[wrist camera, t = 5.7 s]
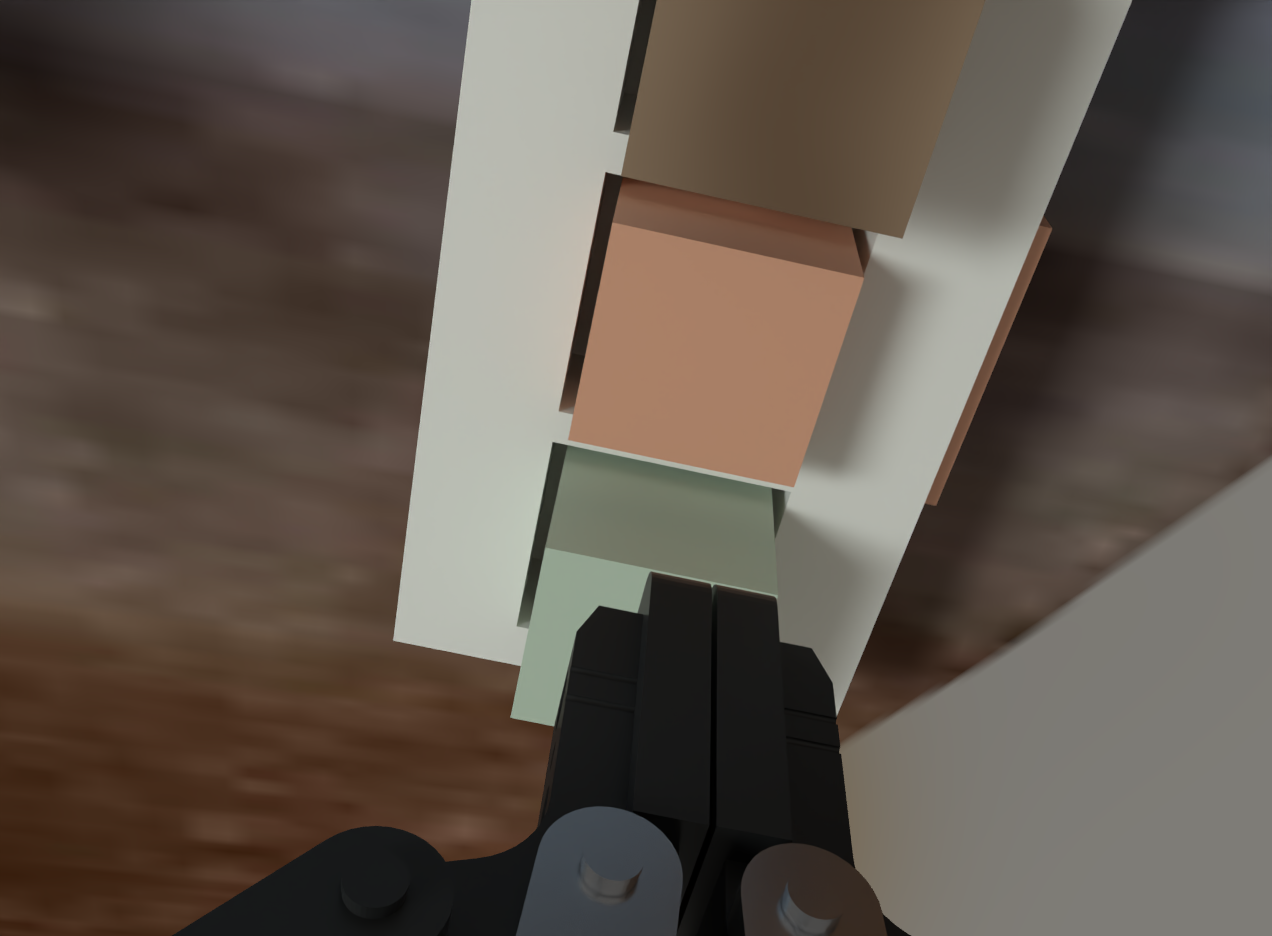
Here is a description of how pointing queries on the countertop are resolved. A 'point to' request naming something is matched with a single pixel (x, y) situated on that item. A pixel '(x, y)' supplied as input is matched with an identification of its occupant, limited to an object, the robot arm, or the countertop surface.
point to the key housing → (570, 278)
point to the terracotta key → (714, 332)
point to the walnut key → (799, 102)
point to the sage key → (634, 553)
